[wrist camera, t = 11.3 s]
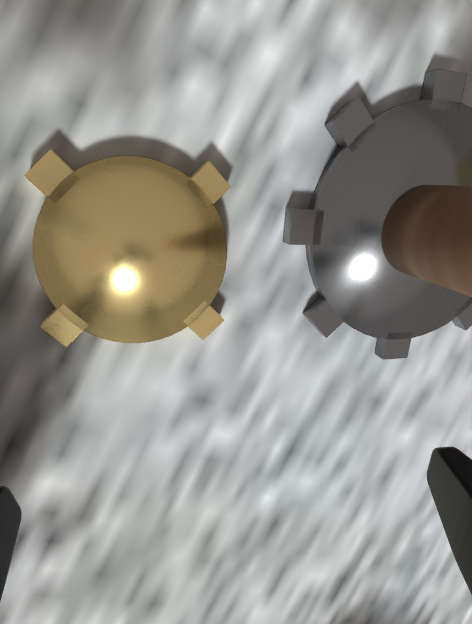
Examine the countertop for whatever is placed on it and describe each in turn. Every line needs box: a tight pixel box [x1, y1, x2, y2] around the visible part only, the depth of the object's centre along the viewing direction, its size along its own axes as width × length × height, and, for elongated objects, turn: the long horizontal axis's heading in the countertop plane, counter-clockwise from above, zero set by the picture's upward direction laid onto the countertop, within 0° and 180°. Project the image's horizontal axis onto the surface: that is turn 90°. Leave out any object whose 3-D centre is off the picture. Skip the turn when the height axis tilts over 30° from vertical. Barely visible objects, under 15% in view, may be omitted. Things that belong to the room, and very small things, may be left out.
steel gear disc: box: [283, 69, 472, 359], centre depth 21 cm, size 14×14×1 cm
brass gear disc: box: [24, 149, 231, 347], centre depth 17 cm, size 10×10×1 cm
